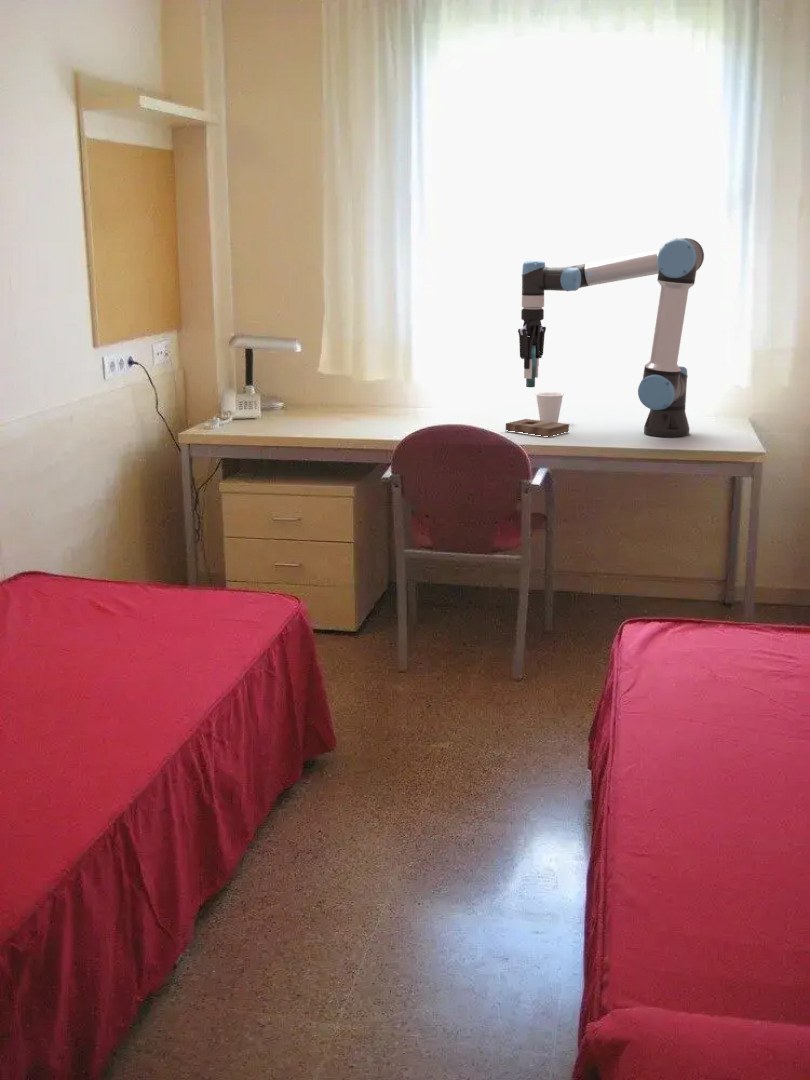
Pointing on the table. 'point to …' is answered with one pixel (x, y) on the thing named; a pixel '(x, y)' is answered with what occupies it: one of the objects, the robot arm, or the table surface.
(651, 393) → the robot arm
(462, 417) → the table surface
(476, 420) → the table surface
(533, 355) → the peg
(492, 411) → the table surface
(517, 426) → the hole plate
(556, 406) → the cup
